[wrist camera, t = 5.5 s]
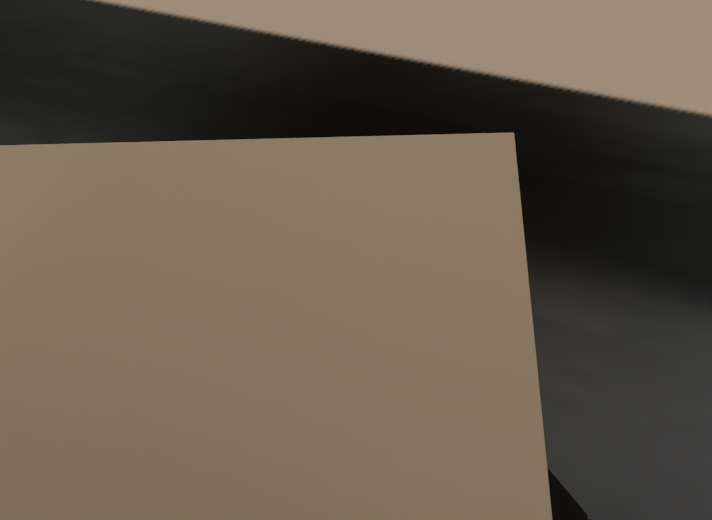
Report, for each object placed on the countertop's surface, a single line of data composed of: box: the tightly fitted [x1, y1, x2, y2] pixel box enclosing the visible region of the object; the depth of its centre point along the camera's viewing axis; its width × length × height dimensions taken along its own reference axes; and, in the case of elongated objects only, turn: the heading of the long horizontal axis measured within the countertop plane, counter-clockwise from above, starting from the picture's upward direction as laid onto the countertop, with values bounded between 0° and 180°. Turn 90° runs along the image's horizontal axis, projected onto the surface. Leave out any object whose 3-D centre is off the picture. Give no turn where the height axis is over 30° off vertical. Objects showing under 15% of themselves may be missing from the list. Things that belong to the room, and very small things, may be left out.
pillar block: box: [0, 133, 552, 520], centre depth 9 cm, size 6×6×12 cm
